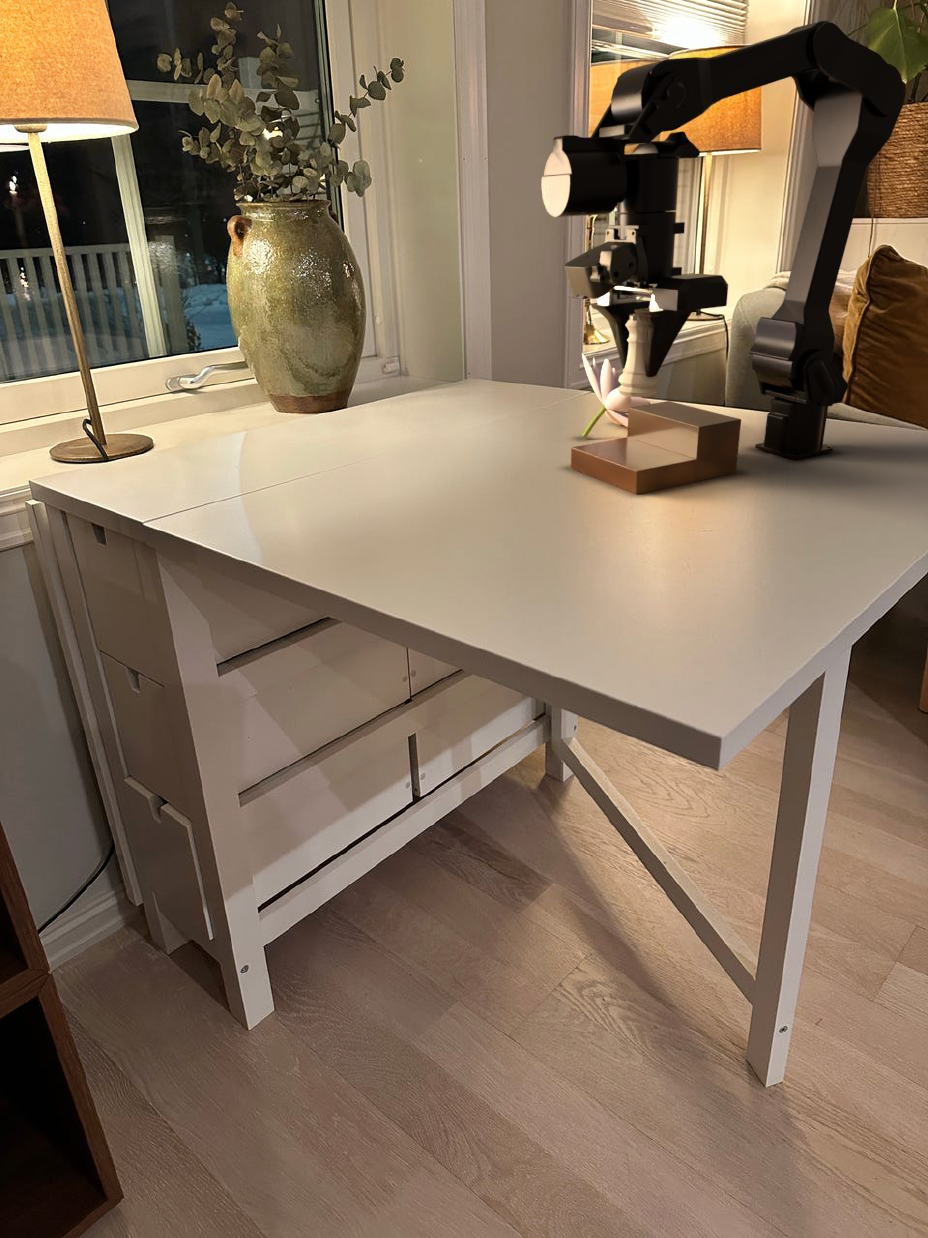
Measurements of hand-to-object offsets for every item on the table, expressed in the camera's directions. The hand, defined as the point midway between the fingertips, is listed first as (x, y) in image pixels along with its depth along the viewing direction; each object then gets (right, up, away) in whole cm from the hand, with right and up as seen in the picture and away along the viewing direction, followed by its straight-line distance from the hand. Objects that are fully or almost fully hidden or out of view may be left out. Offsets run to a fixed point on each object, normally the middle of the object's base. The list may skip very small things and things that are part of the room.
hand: (639, 374), depth 94 cm
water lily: (+2, -2, +22) cm, 22 cm away
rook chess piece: (0, -2, +1) cm, 2 cm away
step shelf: (+4, -9, +7) cm, 12 cm away
